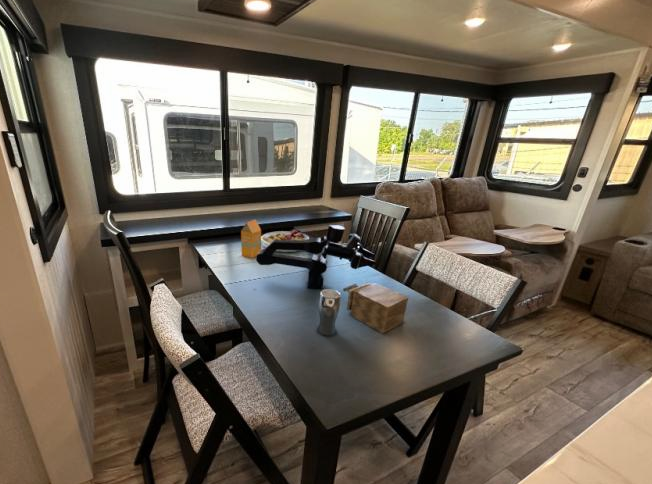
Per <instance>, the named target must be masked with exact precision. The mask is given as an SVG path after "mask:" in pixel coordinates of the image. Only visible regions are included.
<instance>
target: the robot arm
mask: <svg viewBox="0 0 652 484" xmlns="http://www.w3.org/2000/svg"><path fill="white" fill-rule="evenodd" d="M344 233H345V227H344V226H342V225H338V224H328V227H327V233H326V235H324V236H322V237H311V238H309V239H307V240H277V239H275V240H273V242H272V243H271V244H270V245H269V246H268V247H267V248H266V247H265V248H261V251H260V252H259V253H258V255H257V256H255V261H256V263H257V264H258V265H259V266H271V265H281V266H288V267H295V268H302V269H307V270H308V273H307V282H306V283H307V284H306V285H307V289H317V290H322V289H323V286H324V280H325V278H324V275H323V274H324V273H326V271H327V269H328V260H327V256H330V257H334V258H338V259H339V260H341V261H342V260H347V261H348V262H350V264H349V265H350V268H351V269H353V270H357V269H360V268H364V267H369V266H374V265H376V264H377V261H375V260H373V259H370V258H374V257H375V253H373V252H371V251H369V250H368V249H365V248H363V245H362V244H361V243H360V242H361V240H362V239H361V237H360V236H359V235H358V234H357V233H349V235H348V237H347V238H348V240H347V243H346V242H344V243H342V244H340V243H341V242H342V241H343V237H344ZM276 250H300V251H302V252H306V253H309V254H312V255H311V257H303V256H294V255H288V254H282V253H281V254H280V253H278V252H277V251H276ZM319 254H320V255H319Z"/></svg>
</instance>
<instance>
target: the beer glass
mask: <svg viewBox="0 0 652 484" xmlns="http://www.w3.org/2000/svg"><path fill="white" fill-rule="evenodd" d="M340 306H341V293H340V292H339V290H335V289H332V288H325V289H323V290H322V289H321V291H320V295H319V300H318V316H319V324H318V327H317V332H318V333H319V334H320V335H322V336H324V337H325V336H326V337H329V336H330V337H331V336H333V335H335V333H336V321H337V318H338V314H339V312H340Z"/></svg>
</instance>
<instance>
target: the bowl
mask: <svg viewBox="0 0 652 484" xmlns="http://www.w3.org/2000/svg"><path fill="white" fill-rule="evenodd" d="M275 239H277V240H307V239H310V237H309V236H308V235H305V234H304V233H303V232H299V230H298V229H296V228H295V229H292V230H291V231H283V230H281V231H280V230H278V231H271V232H267V233H265V234H262V235H261V245H262V246H263V247H264V248H265V249H266V248H267V247H268V246H269V245H270V244H271V243H272V242H273V240H275ZM300 251H301V250H276V251H275V252H277V253H295V252H300Z"/></svg>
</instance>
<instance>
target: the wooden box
mask: <svg viewBox="0 0 652 484" xmlns="http://www.w3.org/2000/svg"><path fill="white" fill-rule="evenodd" d="M408 302H409V296H406V295H404V294H402V293H400V292H397V291H395V290H393V289H390V288H388V287H385V286H383V285H381V284H379V283H377V282H374V283H370V285H368V286H365V287H363V288H360V289H358V290H355V291H354V295H353V302H352V309H351V310H350V316H351V317H353V318H355V319H357V320H358V321H360V322H361V323H363V324H365V325H367V326H369V327H371V328H372V329H374V330H376V331H377V332H379V333H381V334H385V333H386V332H389V331H390V330H392V329H393V328H395V327H397V326H399V325H400V324H403V323H404V319H405V316H406V311H407V308H408V307H407V306H408Z"/></svg>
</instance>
